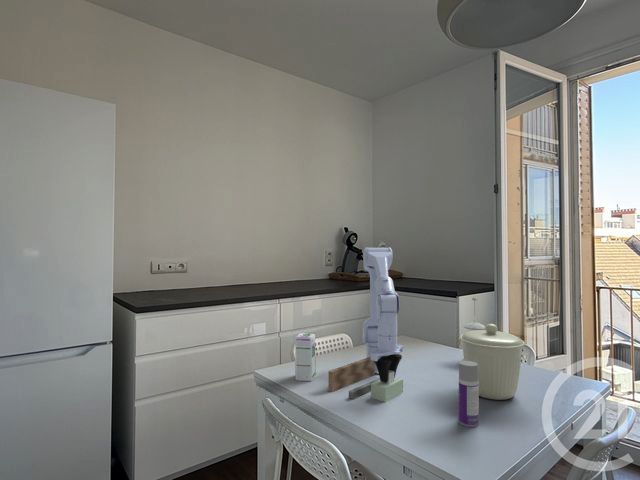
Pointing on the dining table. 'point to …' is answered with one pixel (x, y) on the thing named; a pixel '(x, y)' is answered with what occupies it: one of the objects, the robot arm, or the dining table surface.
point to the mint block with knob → (387, 388)
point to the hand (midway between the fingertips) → (387, 380)
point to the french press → (474, 323)
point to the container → (468, 394)
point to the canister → (494, 360)
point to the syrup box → (305, 357)
